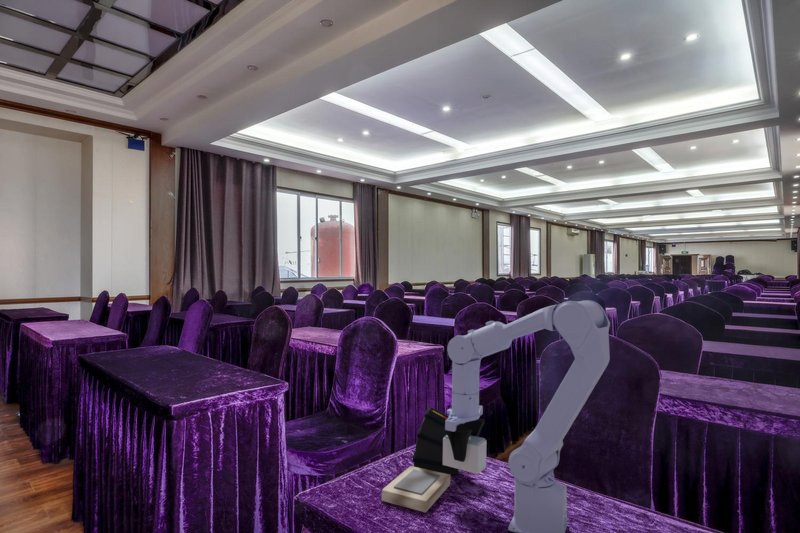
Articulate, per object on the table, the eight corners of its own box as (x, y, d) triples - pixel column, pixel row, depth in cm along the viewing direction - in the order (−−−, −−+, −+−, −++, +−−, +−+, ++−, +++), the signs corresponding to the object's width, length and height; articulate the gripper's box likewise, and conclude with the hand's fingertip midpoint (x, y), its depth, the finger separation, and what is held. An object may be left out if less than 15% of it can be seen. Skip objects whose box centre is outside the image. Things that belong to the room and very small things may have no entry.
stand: (450, 484, 101) (450, 473, 101) (425, 512, 89) (425, 499, 89) (410, 475, 106) (410, 464, 106) (381, 500, 93) (381, 488, 93)
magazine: (401, 458, 111) (428, 405, 111) (449, 485, 110) (476, 431, 110) (400, 464, 108) (427, 409, 107) (449, 492, 106) (477, 436, 106)
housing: (486, 466, 94) (486, 438, 95) (477, 474, 91) (478, 444, 91) (451, 458, 99) (452, 430, 99) (442, 464, 95) (443, 436, 95)
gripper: (462, 383, 104) (461, 442, 103) (432, 395, 91) (431, 463, 91) (491, 387, 100) (490, 449, 99) (464, 401, 88) (462, 471, 87)
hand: (464, 456), depth 95 cm, fingers closed on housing, 4 cm apart
